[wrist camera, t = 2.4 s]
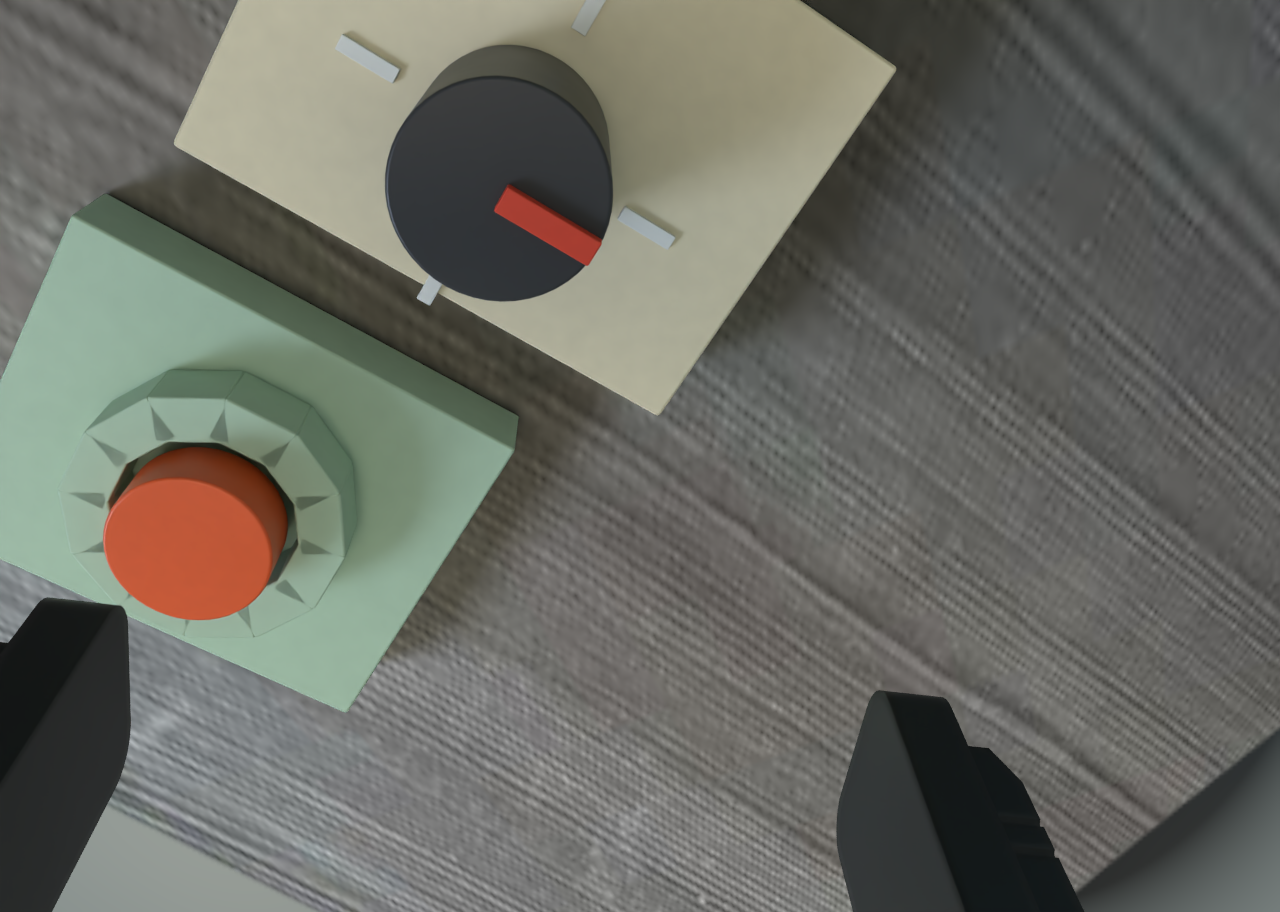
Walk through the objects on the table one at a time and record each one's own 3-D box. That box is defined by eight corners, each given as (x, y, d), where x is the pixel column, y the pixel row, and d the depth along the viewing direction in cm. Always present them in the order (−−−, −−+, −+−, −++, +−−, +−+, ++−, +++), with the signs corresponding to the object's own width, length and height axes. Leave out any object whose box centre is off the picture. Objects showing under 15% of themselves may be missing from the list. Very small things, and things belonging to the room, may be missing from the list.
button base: (-28, 492, 34) (-101, 566, 30) (105, 191, 30) (40, 234, 27) (359, 669, 37) (334, 755, 33) (519, 415, 33) (511, 481, 30)
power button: (102, 540, 30) (76, 577, 29) (164, 418, 29) (139, 449, 27) (249, 607, 32) (231, 646, 30) (315, 492, 30) (300, 526, 29)
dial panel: (204, 130, 30) (163, 158, 27) (394, -280, 26) (371, -298, 23) (647, 382, 33) (653, 430, 30) (870, 50, 29) (900, 69, 27)
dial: (380, 178, 27) (341, 235, 23) (473, 3, 26) (450, 30, 21) (547, 274, 28) (540, 346, 24) (646, 113, 27) (657, 160, 23)
